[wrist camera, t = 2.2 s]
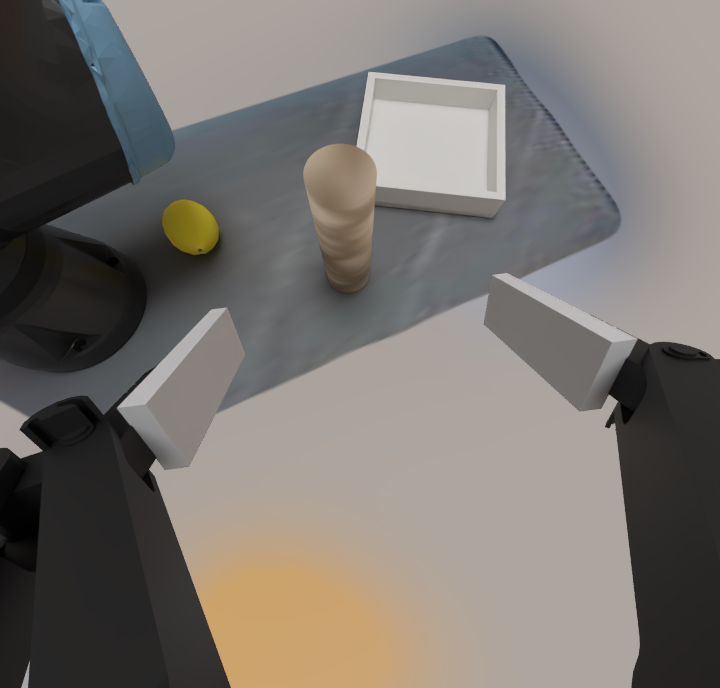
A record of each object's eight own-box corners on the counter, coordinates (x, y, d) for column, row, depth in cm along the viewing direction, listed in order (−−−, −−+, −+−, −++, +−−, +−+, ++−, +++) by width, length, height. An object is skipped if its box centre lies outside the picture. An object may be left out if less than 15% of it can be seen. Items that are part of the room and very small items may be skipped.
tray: (351, 202, 34) (350, 183, 31) (367, 97, 38) (368, 71, 35) (492, 218, 34) (505, 200, 31) (493, 110, 38) (505, 85, 35)
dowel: (324, 291, 31) (297, 199, 18) (330, 253, 32) (310, 140, 19) (366, 296, 31) (372, 208, 17) (371, 257, 32) (380, 147, 19)
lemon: (179, 233, 34) (144, 196, 28) (220, 217, 34) (193, 178, 29) (191, 275, 31) (155, 242, 26) (235, 257, 32) (208, 221, 27)
